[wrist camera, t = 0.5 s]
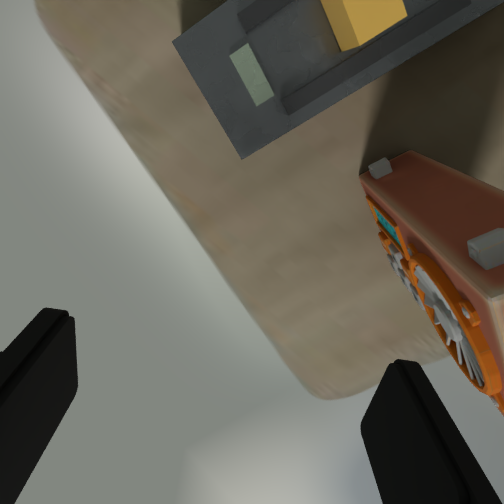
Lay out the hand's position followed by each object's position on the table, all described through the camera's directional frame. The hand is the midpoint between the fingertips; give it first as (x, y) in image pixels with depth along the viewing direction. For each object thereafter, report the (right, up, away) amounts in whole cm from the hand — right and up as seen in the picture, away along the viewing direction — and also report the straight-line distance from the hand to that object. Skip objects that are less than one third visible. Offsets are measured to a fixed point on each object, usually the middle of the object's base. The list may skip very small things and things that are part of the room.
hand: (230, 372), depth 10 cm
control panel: (+16, +7, +26) cm, 31 cm away
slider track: (+8, +23, +18) cm, 30 cm away
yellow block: (+8, +21, +14) cm, 26 cm away
